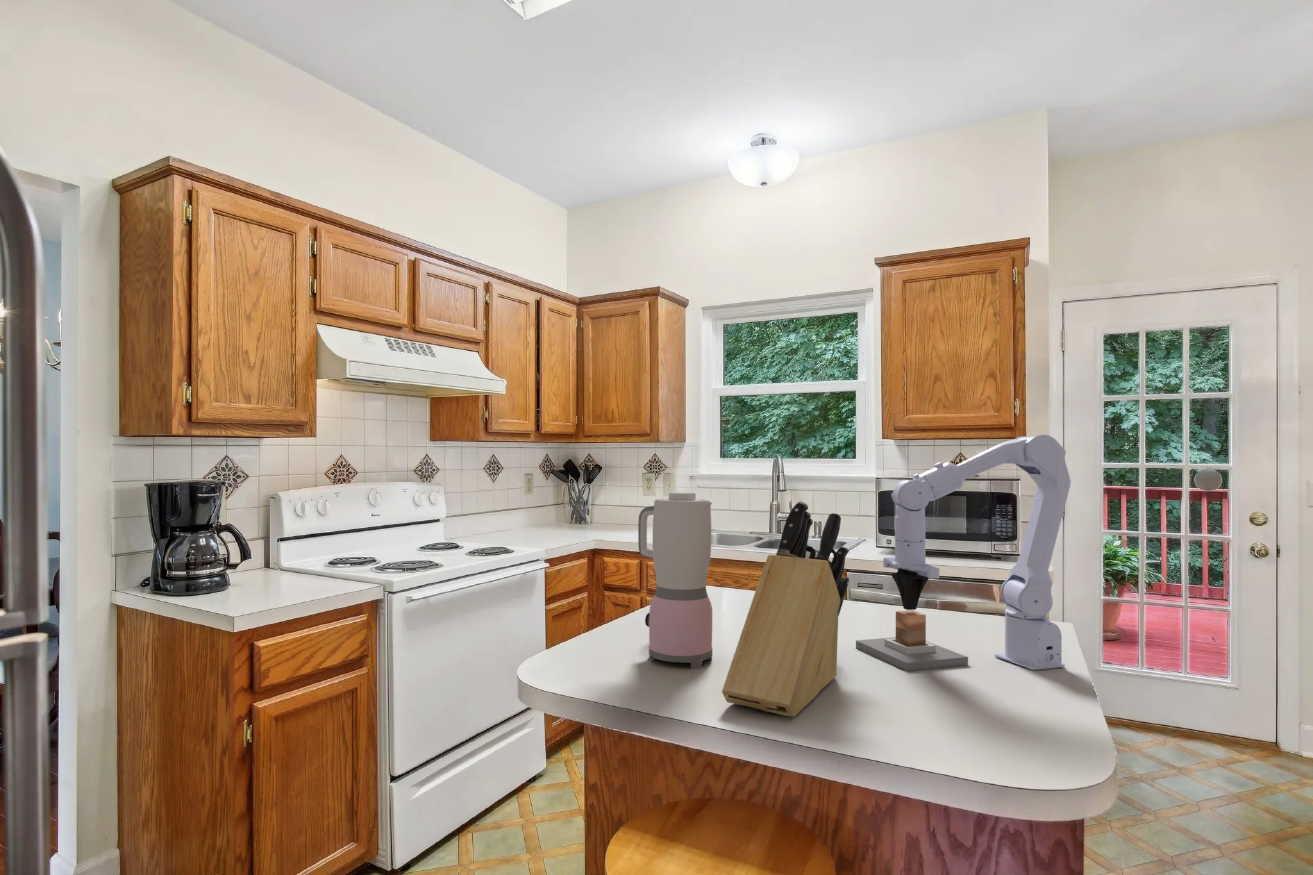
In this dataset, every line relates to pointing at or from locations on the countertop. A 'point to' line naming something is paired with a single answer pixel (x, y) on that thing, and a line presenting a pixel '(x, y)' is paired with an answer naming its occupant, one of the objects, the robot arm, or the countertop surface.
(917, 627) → the copper rectangular block
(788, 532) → the knife block
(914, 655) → the collar board
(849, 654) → the countertop surface
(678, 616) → the blender
